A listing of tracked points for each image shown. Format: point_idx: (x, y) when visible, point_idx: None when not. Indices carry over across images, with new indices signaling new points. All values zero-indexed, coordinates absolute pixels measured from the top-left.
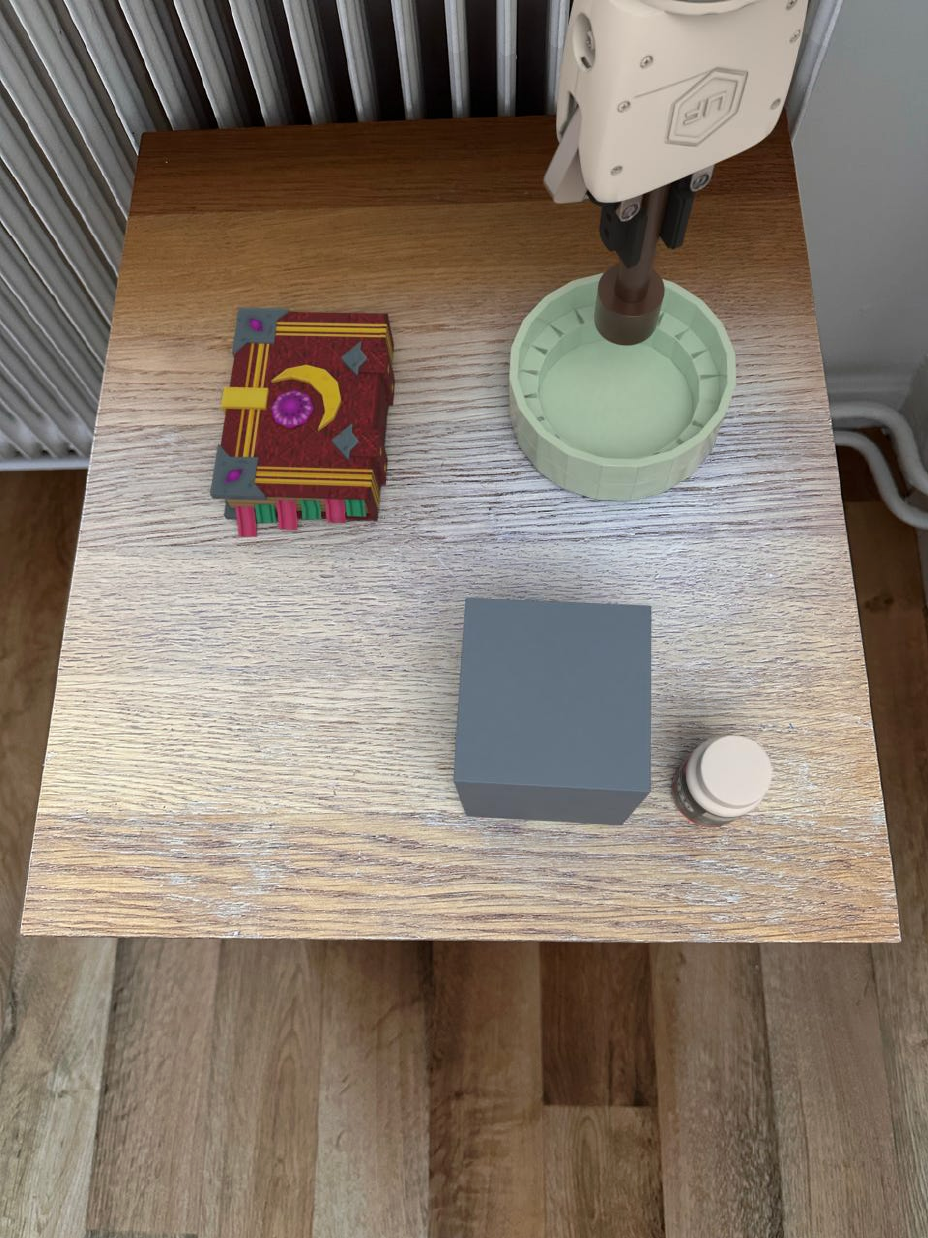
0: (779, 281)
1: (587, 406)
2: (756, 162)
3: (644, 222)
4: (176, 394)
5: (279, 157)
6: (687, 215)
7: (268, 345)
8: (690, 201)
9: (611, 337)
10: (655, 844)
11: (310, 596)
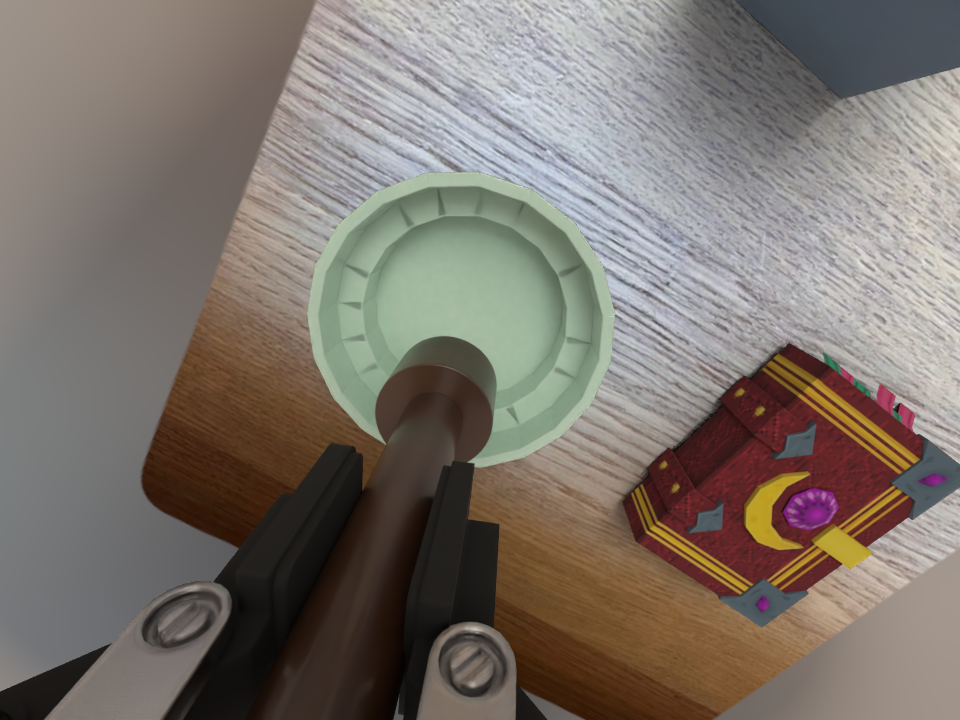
0: (217, 337)
1: (495, 327)
2: (175, 462)
3: (426, 581)
4: (832, 571)
5: (578, 693)
6: (285, 516)
7: (769, 579)
8: (255, 562)
9: (490, 368)
10: None
11: (915, 307)
